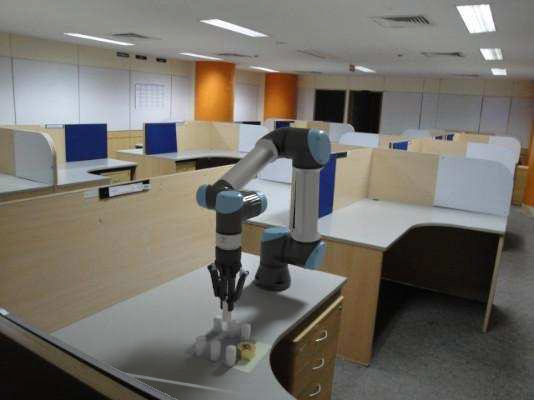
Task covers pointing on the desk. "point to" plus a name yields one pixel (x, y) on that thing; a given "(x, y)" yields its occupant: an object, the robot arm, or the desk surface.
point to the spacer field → (227, 345)
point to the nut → (245, 351)
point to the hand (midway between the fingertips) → (226, 319)
